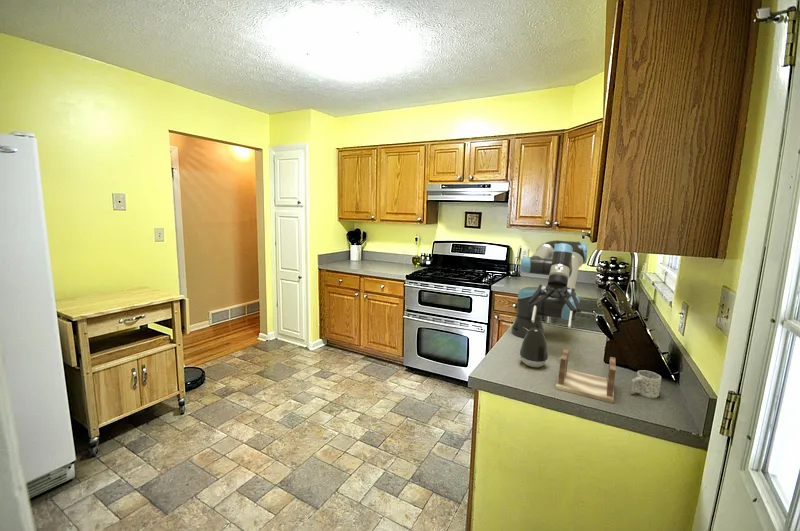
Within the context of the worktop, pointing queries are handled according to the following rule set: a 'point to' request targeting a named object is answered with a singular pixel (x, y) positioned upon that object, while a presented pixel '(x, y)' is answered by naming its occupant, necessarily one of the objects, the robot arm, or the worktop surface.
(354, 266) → the worktop surface
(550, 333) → the worktop surface
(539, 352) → the pump dispenser
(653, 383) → the mug
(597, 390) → the caddy
